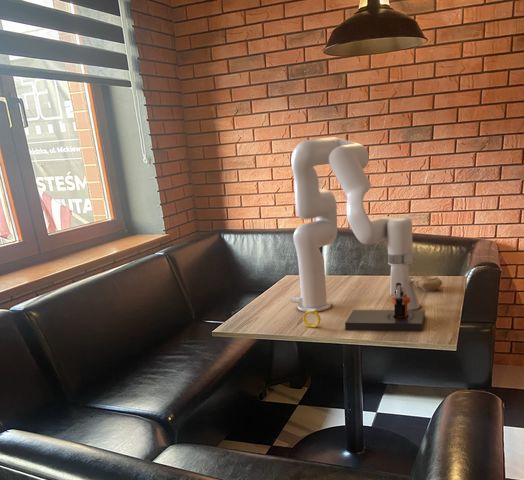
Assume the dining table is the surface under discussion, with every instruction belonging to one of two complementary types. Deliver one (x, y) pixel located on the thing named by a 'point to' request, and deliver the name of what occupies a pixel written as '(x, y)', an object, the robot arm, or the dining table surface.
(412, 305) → the flask
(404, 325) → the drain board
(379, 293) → the dining table surface
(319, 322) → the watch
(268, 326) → the dining table surface
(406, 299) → the stopper
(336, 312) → the dining table surface
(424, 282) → the oil lamp
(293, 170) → the robot arm
